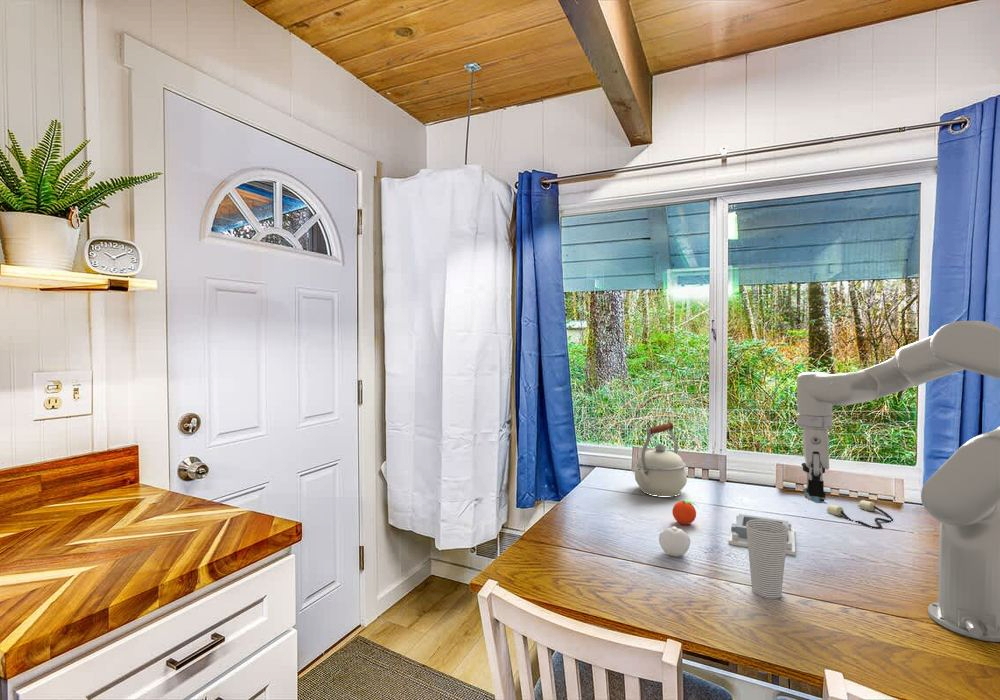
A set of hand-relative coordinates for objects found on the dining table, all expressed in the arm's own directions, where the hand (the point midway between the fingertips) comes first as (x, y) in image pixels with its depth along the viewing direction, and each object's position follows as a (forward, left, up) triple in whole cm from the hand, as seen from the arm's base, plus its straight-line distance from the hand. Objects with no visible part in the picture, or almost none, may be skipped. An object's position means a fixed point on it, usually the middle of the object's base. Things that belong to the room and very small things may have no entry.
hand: (815, 492), depth 127 cm
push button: (-1, 0, -2) cm, 2 cm away
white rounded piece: (-11, +32, -19) cm, 39 cm away
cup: (-21, +10, -19) cm, 30 cm away
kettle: (+39, +47, -19) cm, 64 cm away
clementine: (+13, +33, -19) cm, 40 cm away
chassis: (+12, +12, -19) cm, 25 cm away
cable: (+44, -16, -19) cm, 51 cm away
